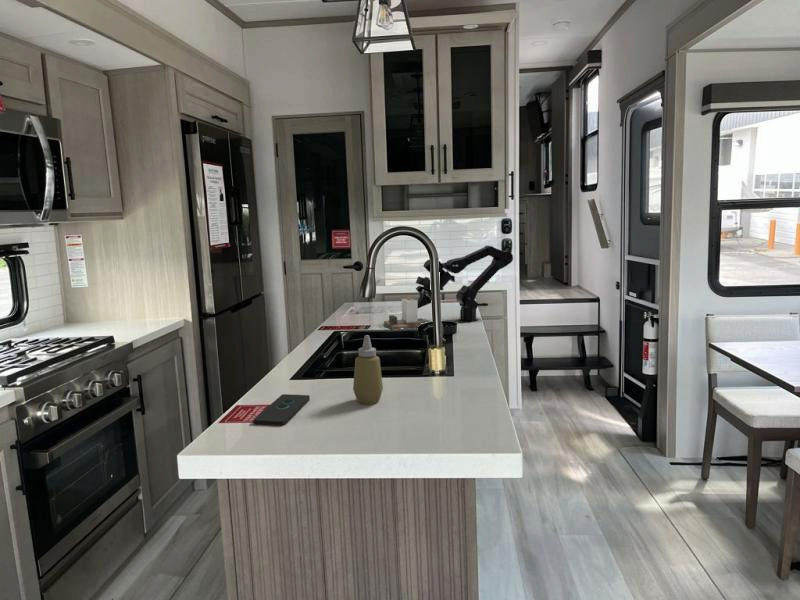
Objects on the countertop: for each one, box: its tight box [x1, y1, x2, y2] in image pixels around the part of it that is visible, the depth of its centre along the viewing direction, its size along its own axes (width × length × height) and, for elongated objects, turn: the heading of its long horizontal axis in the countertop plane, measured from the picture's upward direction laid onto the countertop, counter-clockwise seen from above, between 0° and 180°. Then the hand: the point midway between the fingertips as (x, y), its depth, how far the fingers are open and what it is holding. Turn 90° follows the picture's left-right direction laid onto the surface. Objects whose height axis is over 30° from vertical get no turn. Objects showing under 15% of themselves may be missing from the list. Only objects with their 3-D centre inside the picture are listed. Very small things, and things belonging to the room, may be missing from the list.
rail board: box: [383, 314, 430, 330], centre depth 255 cm, size 18×14×4 cm
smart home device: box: [253, 393, 311, 427], centre depth 149 cm, size 8×2×20 cm
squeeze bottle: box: [352, 334, 384, 405], centre depth 154 cm, size 8×8×18 cm
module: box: [401, 296, 419, 324], centre depth 255 cm, size 5×7×11 cm
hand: (415, 308), depth 256 cm, fingers closed, pressing on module
